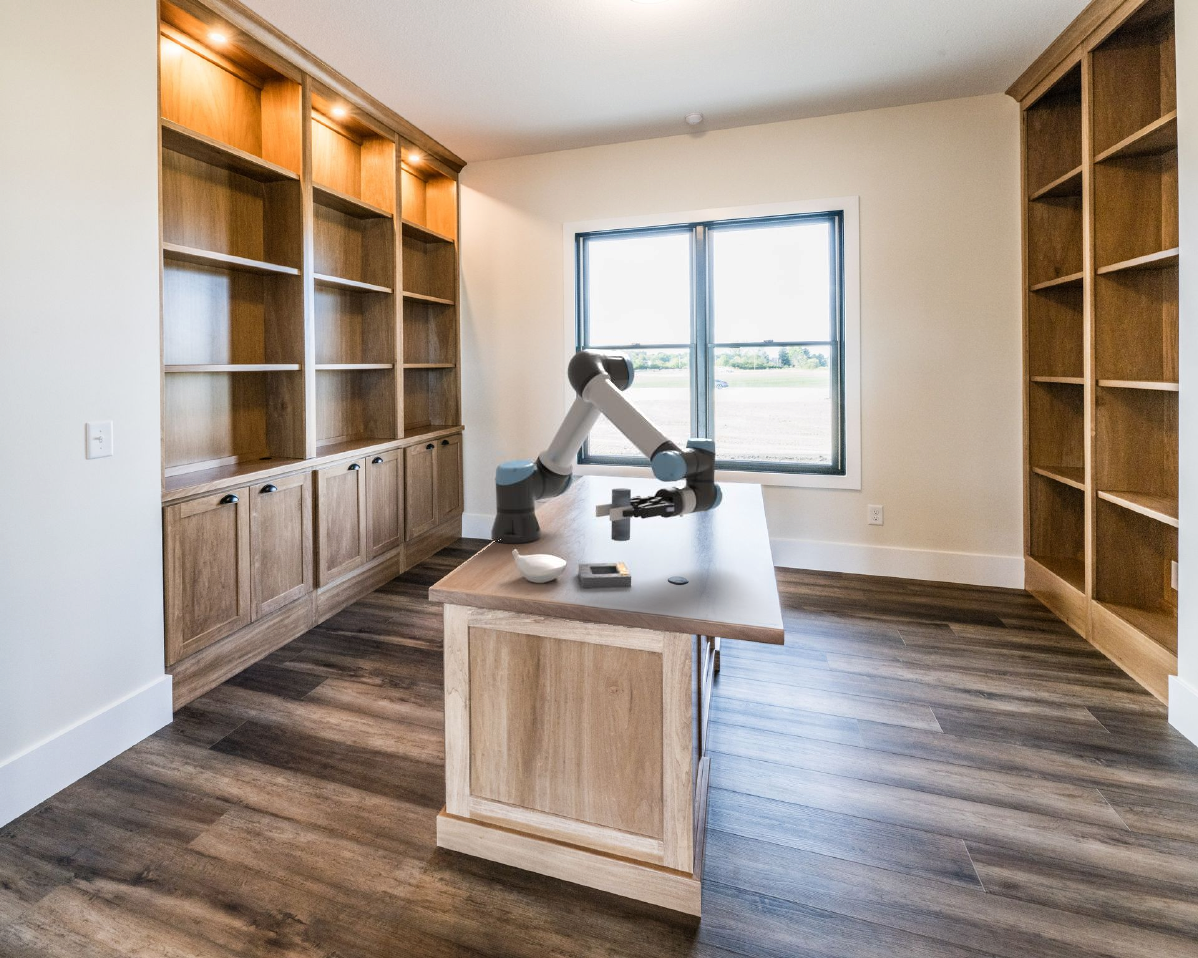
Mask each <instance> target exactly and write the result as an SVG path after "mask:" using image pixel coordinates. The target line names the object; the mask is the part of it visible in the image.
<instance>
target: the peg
mask: <svg viewBox="0 0 1198 958" xmlns="http://www.w3.org/2000/svg"><path fill="white" fill-rule="evenodd" d="M631 491H632V490H631V489H630V488H626V487H625V488H621V487H619V488H618V487H617V488H612V489H611V503H612V509H613V508H619V507H626V506H631V498H632V497H631V496H632V495H631ZM610 537H611V538H610V539H611V540H612V541H614V542H615V541H616V542H627V541H630V540H631V518H626V519H620V520H614V521H611V536H610Z"/></svg>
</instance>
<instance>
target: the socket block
mask: <svg viewBox="0 0 1198 958" xmlns="http://www.w3.org/2000/svg"><path fill="white" fill-rule="evenodd" d="M578 576H579V581H580V583H581V587H582V589H594V588H595V589H596V588H597V589H599V588H602V589H603V588H622V587H623V588H624V587H628V588H630V587H631V588H632V575H631V573H630V572H629V569H628V568H627V566H626V564H625V563H624V562H604V563H600V562H599V563H597V562H596V563H578Z"/></svg>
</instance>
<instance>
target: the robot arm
mask: <svg viewBox="0 0 1198 958" xmlns="http://www.w3.org/2000/svg"><path fill="white" fill-rule="evenodd" d="M634 378H635V369H634V363H633V362H632V359H631V358H630V357H629V356H628V355H627V354H626V353H624V352H622V351H620V350H619V351H618V350H615V349H609V350H607V349H606V350H605V349H592V348H587V349H583V350H580V351H578V352H577V353H576V354H574V355H573V356H572V357H571V359H570V361H569V362H568V365H567V379H568V381H569V383H570V386H571V388H572V389H573V390H574V391H575V393H576V394H577V396H576V398H575V399H574V401H573V403H572V405H571V406H570V408H569V410H568V412H567V414H566V416H565V417H564V419H563V421H562V422H561V424H560V426H559V429H558V430H557V432H556V434H555V436H554V437H553V439H552V440H551V443H550V445H549V446H548V448H547V449H543V450H542V451H540V452H539V455H538V457H537V458H536V459H535V461H534V462H533V460H528V459H517V460H510V461H506V462H503V463H501V464H499V465H498V466H497V467H496V470H495V479H494V480H495V481H494V482H495V499H496V502H495V504H496V514H495V518H494V520H493V525H492V528H491V532H490V533H491V534H490V535H491V540H492V541H495V542H497V543H502V544H525V543H531V542H534V541H537V540H540V539H541V537H542V536H541V535H542V534H541V533H542V532H541V527H540V524H539V520H538V518H537V516H536V511H535V509H536V508H535V506H536V505H535V503H536V502H535V501H541V500H546V499H551V498H556V497H559V496H561V495H563V494H565V493H566V492H568V491H569V489H570V488H571V486H572V484H573V482H574V481H573V469H574V467H573V464H572V463H573V462H574V459H575V458H576V456H577V454H578V452H579V451H580V449H581V447H582V445H583V443H584V442H585V440H586V439H587V437H588V436H589V433H590V432H591V430H592V429H593V427H594V426H595V423H596V422H597V420H598V418H599V417H600V416H601V413H602V415H603V416H604V417H606V419H607V420H608V421H610V422H611V424H612V425H614V427H616V429H618V430H619V432H620V433H621V434H622V435H623V436H624V437H625V438H626V439H628V441H630V443H631V444H632V445H634V447H635V448H636V449H637V450H639V452H640V453H641V454H642V455H644V456H645V458H646V459H647V460H649V462H650V463H651V470H652V473H653V475H654V477H655V478H656V479H657V480H658V481H661V482H664V483H667V482H668V483H669V482H678V481H680V480H684V479H685V485H678V486H677V485H676V486H672V487H665V488H660V489H659V490H657V491H656V492H655V494H654V495H648V496H645V497H641V495H636V496H633V497H631V506H626V507H619V508H613V509H612V502H610V503H603V504H597V505H595V517H596V518H601V517H606V516H609V521H610V522H612V521H614V520H620V519H626V518H630V519H631V518H641V519H642V520H643V519H649V518H654V517H655V518H656V517H661V518H664V519H667V518H672V517H677V516H679V517H680V518H681V517H683V516H684V515H688V514H694V513H699V512H708V511H711V510H714V509H716V508H718V507H719V506H720V504H721V503H722V501H723V492H722V490H721V489H722V488H721V486H720V485H719V484H718V483H716V482H715V470H716V468H715V467H716V455H717V454H716V443H715V441H714V440H713V439H712V438H703V437H702V438H698V437H697V438H689V439H687V441H686V445H685V448H679V446H678V445H676V444H675V443H674V442H673V441H672V440H671V439H670V438H669V437H668V436H667V435H666V434H665V433H664V432H663V431H662V430H661V429H660V428H659V427H658V426H657V425H656V424H655V423H654V422H653V421H651V420H650V418H648V417H647V416H646V415H645V413H644V412H642V410H640V409H639V408H638V407H637V406H636V405H635V404H634V403H633V402H632V401H631V400H630V399H629V398H628V397H627V396H626V395H625V394H624V393H623V392H624V391H626V390H628V389H629V388H631V386H632V384H633V382H634ZM500 539H501V540H500ZM498 540H499V541H498Z"/></svg>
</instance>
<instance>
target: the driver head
mask: <svg viewBox="0 0 1198 958" xmlns="http://www.w3.org/2000/svg"><path fill="white" fill-rule="evenodd" d="M511 554H512V556H513V557H514V561H515V566H516V567H517V569H518V571H519V573H520V574H521V575H522V576H523V577H524V578H525V579H526V580H527V581H529V582H532V583H537V584H544V583H548V582H550V581H552V580H553V581H554V580H555V579H557V578H559V577H560V576H562V575H563V574H564V573H565V571H566V569H567V566H568V563H567V561H566V560H564V559H562V558H561V557H558V556H556V555H551V554H541V553H539V554H537V553H536V554H527V555H520V554H519V551H518V549H513V550H512V551H511Z"/></svg>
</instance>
